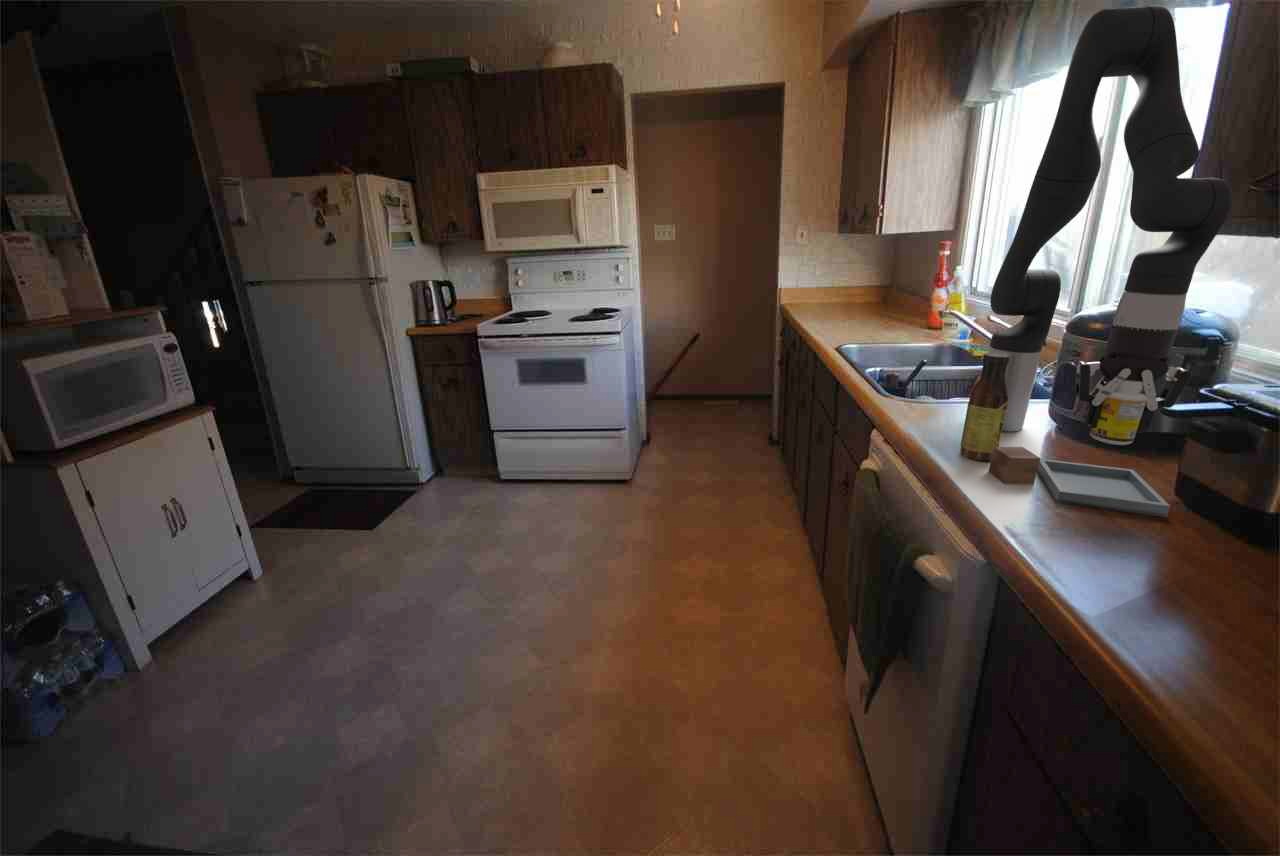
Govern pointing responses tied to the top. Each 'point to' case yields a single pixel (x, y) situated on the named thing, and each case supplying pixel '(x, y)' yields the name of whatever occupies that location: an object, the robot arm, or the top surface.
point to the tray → (1101, 488)
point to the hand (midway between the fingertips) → (1113, 428)
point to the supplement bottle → (1120, 414)
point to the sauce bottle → (986, 409)
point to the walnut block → (1014, 465)
